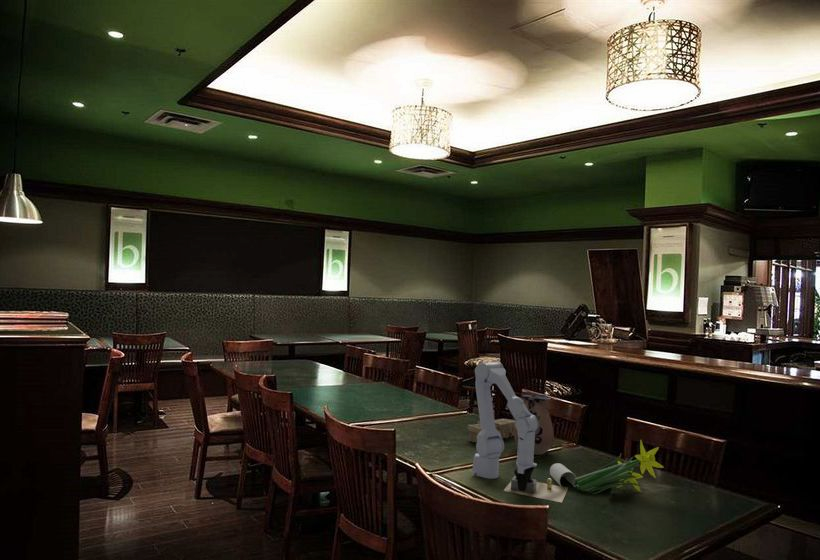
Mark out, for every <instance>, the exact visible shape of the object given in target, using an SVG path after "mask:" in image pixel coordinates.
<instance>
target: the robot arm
mask: <svg viewBox="0 0 820 560" xmlns="http://www.w3.org/2000/svg"><path fill="white" fill-rule="evenodd" d="M506 373H507V371H506V369H505V368H504V365H503V364H502V363H501V361H493V362H492V361H490V362H489V361H488V362H479V363H477V364H476V367H475V368H474V375H475V376H474V377H475V385H474V386H475V393H476V400H477V407H478V415H479V422H480V424H481V431H480V433H479V434H478V435H477V443H475V444H476V445H475V448H476V453H475V454H474V456H473V461H472V462H473V463H472V475H471V476H472V477H474V476H477V477H481V478H485V479H491V480H492V479H497V478H499V469H500V468H499V467H500V456H502V455H501V453H502V452H503V451H504V450H505V443H504V439H502V438H501V433H500V432H499V431H498V430H496V428H495V421H494V420H495V414H494V407H493V400H492V399H493V398H492V392H491V386H492V385H493V384H495V385H496V386H497V387H498V389H499V390H500V391H501V393H502V394H503V396H504V397H505V399H506V400H507V404H506V407H507V408H508V410H509V411H510V413H511V415H512V417H513V418H514V421H516V423H515V426H516V429H517V435H518V445H517V453H516V462H515V464H516V467H517V468H515V469H514V472H513V473H514V476H516V478H517V482H518V489H519V491H525V490H526V485H527V481H528V478H530V479H532V477H531V476H532V474H533V472H534V469H535V468H536V467H537V465H538V464H537V463H536V462H534V441H535V431H536V430H537V429H538V427H539V422H538V420H537V417H536V416H534V415H532V414H531V413H530V412H529V411H528V409H527V408H526V406H525V404H524V401H523V398H521V397H519V396H517V395H516V393H515V391H514V389H513V387H512V386H511V383H510V382H509V380H508V377H507V376H506ZM488 437H491V438H488Z"/></svg>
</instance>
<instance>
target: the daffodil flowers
mask: <svg viewBox="0 0 820 560" xmlns="http://www.w3.org/2000/svg"><path fill="white" fill-rule="evenodd" d="M659 448H660V447H659V446H657V447H654V448H653V449H650V450H648V451H646V449H645V447H644V444H643V441H642V439H640V442H639V449H640V450H639V451H640V454H635V455H634V456H632V457H631V458H630V459H626V460H625V462H621V460H620V459H621V457H622V452H620V455H619V456H618V457H617V458H616V459H615V460H613V461H612V462H610V463H608V464H607V465H605V466H604V465H603V467H601V468H598V469H597V470H593V471H592V472H590V473H586V474H584V475H581V476H578V477H577V478H575V479H574V480H575V483H574V486H575V485H579V486H576V488H577V491H579V492H580V491H581V492H584V491H585V492H588V493H592V495H595V494H599V493H602V492H604V491H606V490H608V489H610V488H613V487H615V488H616V489H619V488H620V487H623V486H625V485H626V486H627V485H632V487H634V488H635V489H636V490H637V491H638V492H639V491H640V492H641V487H642V488H643V485H640V484H639V482H638V481H637V480H636V479H642V478H644V476H643V475H644V473H645V471H646V470H647V471H648V473H649V474H650V475H651V476H652V477H653V478H655V479H656V474H655V472H654V471H655V470H654V469H653V467H654V468H659V469H663V468H665V467H664V465H662V464H661V463H659V462H657V461H656V457H655V455H656V454H657V452H658V451H659ZM634 457H635V458H636V459H635V460H633V459H634ZM639 464H640V468H639V466H638V465H639ZM635 467H638V468H639V469H640V472H641V474H640V473H638V470H636V469H635ZM574 486H573V487H574Z"/></svg>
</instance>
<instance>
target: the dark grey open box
mask: <svg viewBox="0 0 820 560" xmlns="http://www.w3.org/2000/svg"><path fill="white" fill-rule="evenodd" d="M510 482H511V490H515V491H519V489H518V482H517V478H516V475H514V476H512V478H511V480H510ZM537 482H538V481H537V479H533V478H528V481H527V485H526V490H525V491H520V492H525V493H530V494H534V492H535V491H536V484H537Z"/></svg>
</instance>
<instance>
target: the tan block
mask: <svg viewBox="0 0 820 560" xmlns="http://www.w3.org/2000/svg"><path fill="white" fill-rule="evenodd" d="M494 421H495V428H496V430H498V431H499V432H500V433H501V438H504V437H509V435H510V436H512V435H514V431H515V423H516V420H515V419H514V420H512V419H506V418H498V419H494ZM467 430H468V431H469V437H468V441H469V440H470V441H469V442H471V441H473V442H472V443H474V442H477V435H478V434H479V433H480V431H481V424H480V423H474V424H467ZM488 438H491V437H488ZM509 438H510V437H509Z"/></svg>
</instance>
